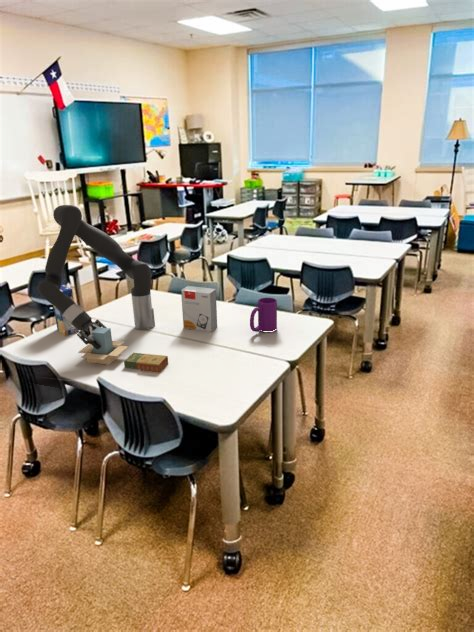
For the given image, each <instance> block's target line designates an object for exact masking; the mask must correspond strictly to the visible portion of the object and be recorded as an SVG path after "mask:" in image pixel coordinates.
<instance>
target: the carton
mask: <svg viewBox="0 0 474 632" xmlns="http://www.w3.org/2000/svg"><path fill="white" fill-rule="evenodd" d="M123 364H124V368H125V369H132V370H133V369H134V370H139V371H141V372H149V373H155V374H156V373H158V374H160V373H161V372H162V371H163V370H164V369H165V368H166V367H167V366H168V365H169V359H168V355H162V354H151V353H149V354H148V353H141V352H132V353H131V354H130V355H129V356H128V357H126V358H125V359H124V361H123Z"/></svg>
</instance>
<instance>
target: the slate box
mask: <svg viewBox="0 0 474 632" xmlns="http://www.w3.org/2000/svg"><path fill="white" fill-rule="evenodd" d="M92 333H93V335H94V336H93V337H94V340H95V341H97V342H98V343H99V344H100V345H101V347H100V349H98V350H97V349H96V348H95V347H94V346H93V350H94V354H102V355H109V354H110V353H111V352H112V351H113V343H112V341H113V337H112V330H111V328H109V327H107V328H103V327H101V328H100V327H99V328H96V329H95V330H93V332H92Z"/></svg>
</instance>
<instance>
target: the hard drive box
mask: <svg viewBox="0 0 474 632" xmlns="http://www.w3.org/2000/svg"><path fill="white" fill-rule="evenodd" d="M180 294H181V309H182V312H181V313H182V325H183V329H188V330H195V331H200V332H206V333H207V332H208V333H213V331H215V330H216V329H217V328H218V316H217V315H218V313H217V312H218V310H217V289H216V288H210V287H202V286H201V287H199V286H191V285H187V286H186V287H184V288H182V289H181V290H180Z"/></svg>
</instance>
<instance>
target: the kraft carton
mask: <svg viewBox="0 0 474 632" xmlns="http://www.w3.org/2000/svg"><path fill="white" fill-rule="evenodd" d="M112 343H113V351H112V352H111V353H110V354H109V355H102V354H94V350H93V346H92V345H91V344H87V345H86V346H85V347H83V348H82V349H80V350H78V354H83V355H82V356H81V359H87V363H90V364H99V365H100V364H101V365H111V364H112V363H113V362H114V361H116V360H117V359H118V358H120V356H122V354H123V352H124V351H126V350H127V349H128V348H129V346H128V345H127V346H126V345H124V343H125V341H118V340H112Z"/></svg>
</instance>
